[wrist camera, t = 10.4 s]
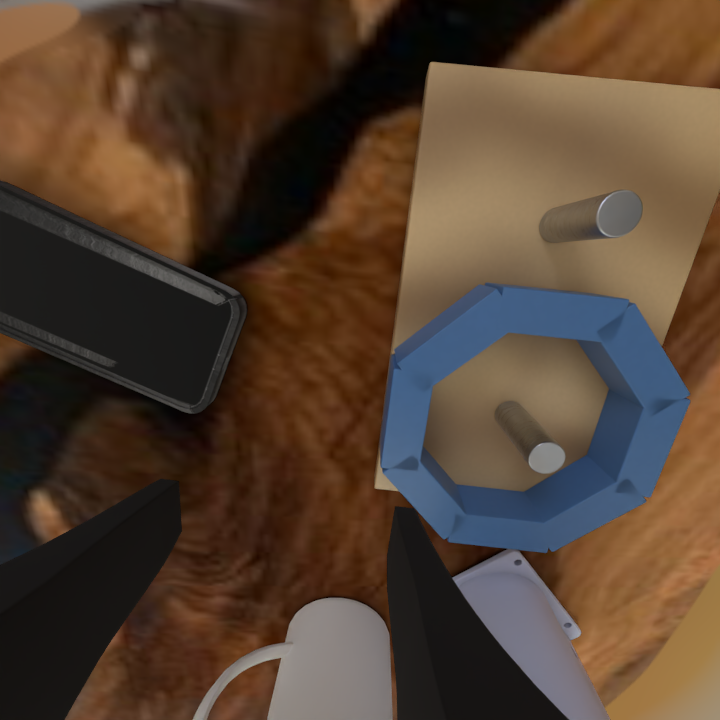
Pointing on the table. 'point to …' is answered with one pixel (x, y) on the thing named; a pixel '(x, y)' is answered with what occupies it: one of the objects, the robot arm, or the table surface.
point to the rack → (546, 244)
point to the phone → (113, 304)
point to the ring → (576, 481)
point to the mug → (324, 666)
